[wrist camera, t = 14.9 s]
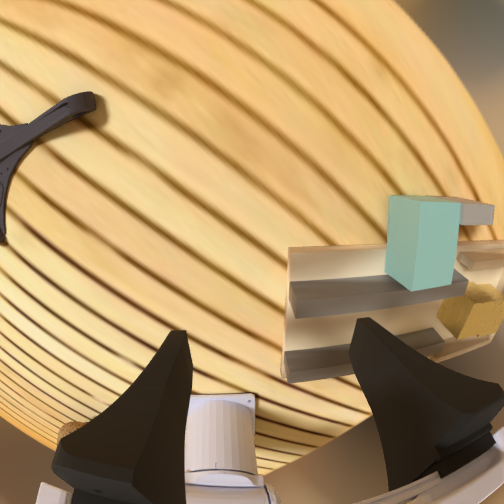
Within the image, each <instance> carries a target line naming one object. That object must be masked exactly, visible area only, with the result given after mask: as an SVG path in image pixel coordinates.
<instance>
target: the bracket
mask: <svg viewBox="0 0 504 504" xmlns="http://www.w3.org/2000/svg"><path fill="white" fill-rule="evenodd" d="M95 109H96V106H95V101H94V95H93V92H82V93H78V94H74V95H71V96H69V97H67V98H65V99H63V100H61V101H60V102H59V103H57V104H56V105H55V106H53V107H52V108H50V109H49V110H47V111H46V112H44V113H43V114H42V115H40V116H39V117H37V118H36V119H35V120H33V121H32V122H30V123H29V124H28V123H26V124H21V125H15V126H7V125H0V242H1V241H3V240H4V239H5V236H4V234H5V233H6V230H5V201H6V194H7V189H8V185H9V182H10V178H11V175H12V173H13V171H14V169H15V167H16V165H17V164H18V162H19V160H20V159H21V157H22V156H23V155H24V154H25V152H26V151H27V150H28V149H29V148H30V147H31V145H32V141H34V140H35V139H37V138H39V137H41V136H42V135H44V134H46V133H48V132H50V131H52V130H53V129H55V128H57V127H59V126H61V125H63V124H65V123H67V122H69V121H71V120H73V119H76V118H78V117H80V116H82V115H84V114H86V113H89V112H91V111H93V110H95Z"/></svg>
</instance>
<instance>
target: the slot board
mask: <svg viewBox="0 0 504 504" xmlns="http://www.w3.org/2000/svg"><path fill="white" fill-rule="evenodd" d="M386 248H387V244H369V245H342V246H315V247H289V248H288V268H287V286H286V303H285V318H284V331H283V345H282V357H281V369H280V372H281V377H282V378H287V381H288V383H297V382H305V381H313V380H320V379H327V378H333V377H339V376H345V375H351V374H355V373H354V370H353V367H352V364H351V361H350V357H349V354H348V351H349V348H350V344H351V340H352V336H353V332H354V328H355V324H356V320H357V319H358V318H365V317H370V318H371V319H373V320H374V321H376V322H377V323H378V324H380V325H381V326H382V327H384V328H385V329H386V330H388V331H389V332H390V333H392V334H393V335H394V336H396V337H397V338H398V339H400V340H401V341H403V342H404V343H405V344H407V345H408V346H410V347H411V348H413V349H414V350H416V351H417V352H419V353H420V354H422V355H424V356H425V357H427V356H428V357H429V358H430V360H432V361H434V362H436V363H438V362H441V361H444V360H447V359H450V358H453V357H455V356H458V355H461V354H463V353H466V352H469V351H471V350H474V349H476V348H479V347H481V346H484V345H486V344H489V343H490V342H491V341H492V339H493V337H494V335H495V333H492V334H489V335H485V336H481V337H477V336H476V335H475V336H471V337H467V338H462V339H458V340H456V338H455V337H454V336H453V335H452V334H451V333H450V331H449V330H448V329H447V328H446V327H445V326H444V325H443V323H442V322H441V321H440V320H439V319H438V318H437V317H436V315H437V313H438V310H439V308H440V306H441V303H442V301H443V299H447V298H453V297H458V296H463V295H464V294H465V291H466V289H467V286H468V283H469V281H473V282H474V283H475V284H491V285H492V286H494V287H495V288H496V289H497V290H498V291H500V292H501V293H502V294H503V295H504V240H488V241H458V242H457V250H456V257H455V264H454V270H453V276H452V282H451V285H445V286H440V287H434V288H429V289H423V290H417V291H410V290H408V289H407V288H406V287H404V286H403V285H402V284H400V283H399V282H398V281H396V280H395V279H393V278H392V277H391V276H389V275H388V274H387V273H385V272H384V271H385V260H386Z"/></svg>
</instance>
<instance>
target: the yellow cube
mask: <svg viewBox="0 0 504 504" xmlns="http://www.w3.org/2000/svg"><path fill="white" fill-rule="evenodd" d="M477 285H478V286H479V287H480V288H481V289H483V290H484V291H485V292H486V293H487V294H488V295H489V296H491V297H492V298H493V299H494V300H495V301H496V302H495V304H494V306H493V308H492V310H491V313H490V315H489V317H488V319H487V321H486V323H485V325H484V327H483V328H482V330H481V332H480V334H479V335H476V336H477V337H481V336H485V335H489V334H492V333H496V332H497V330H498V328H499V326H500V324H501V322H502V320H503V318H504V295H503V294H502V293H501V292H500V291H498V290H497V289H496V288H495V287H494V286H492V285H491V284H477Z"/></svg>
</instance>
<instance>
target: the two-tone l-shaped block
mask: <svg viewBox="0 0 504 504" xmlns="http://www.w3.org/2000/svg"><path fill="white" fill-rule="evenodd" d="M493 218H494V205H490V204H486V203H482V202H477V201H473V200H468V199H463V198H458V197H444V196H410V195H389V212H388V234H387V248H386V260H385V271H384V272H385V273H387V274H388V275H389V276H391V277H392V278H393V279H395V280H396V281H398V282H399V283H400V284H402V285H403V286H404V287H406V288H407V289H408V290H410V291H417V290H423V289H429V288H434V287H440V286H445V285H451V282H452V276H453V270H454V264H455V257H456V250H457V242H458V233H459V224H460V225H493Z"/></svg>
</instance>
